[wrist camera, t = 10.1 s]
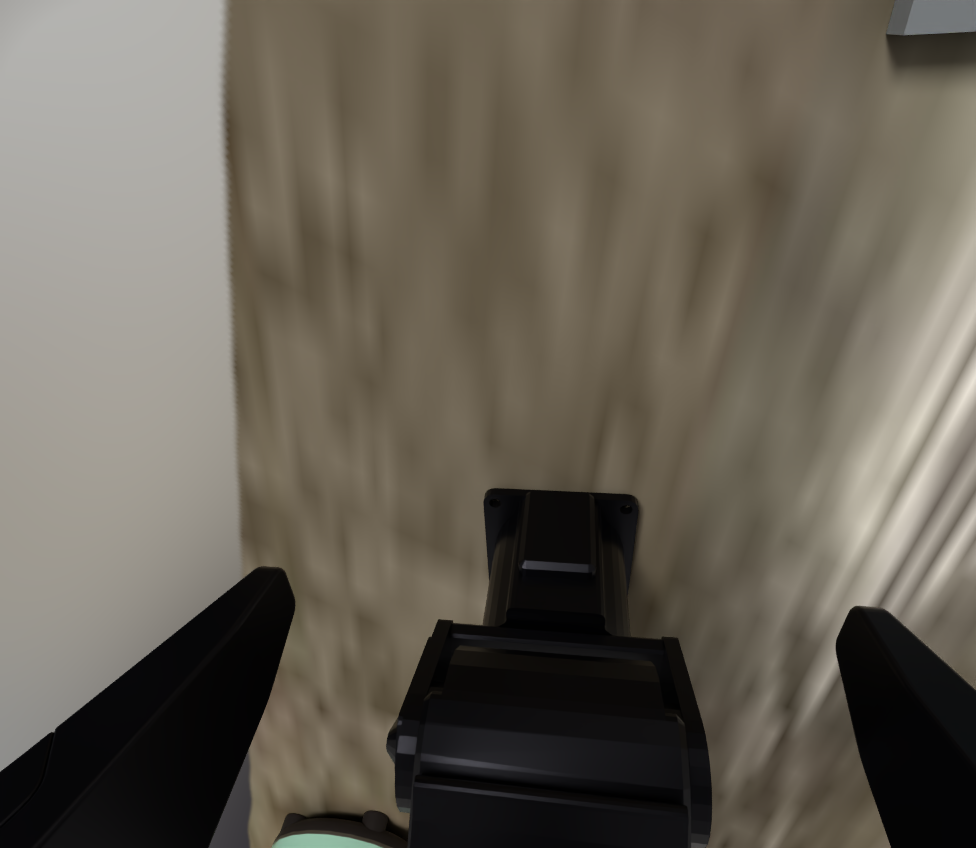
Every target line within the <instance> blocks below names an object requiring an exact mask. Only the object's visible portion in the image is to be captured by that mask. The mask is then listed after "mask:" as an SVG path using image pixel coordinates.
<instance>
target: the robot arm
mask: <svg viewBox="0 0 976 848" xmlns="http://www.w3.org/2000/svg"><path fill="white" fill-rule="evenodd" d="M492 499H498V500H499V501H497V502H496V501H493V500H492ZM624 505H628V506H630V507H627V508H624V507H622V506H624ZM484 516H485V529H486V543H487V557H488V570H489V588H488V594H487V600H486V607H485V613H484V619H483V625H472V624H459V623H453V620H440V619H438V622H437V624H436V627H435V629H434V632H433V634H432V637H429V638H428V640H427V643H426V646H425V648H424V651H423V653H422V656H421V658H420V661H419V664H418V666H417V669H416V671H415V674H414V677H413V679H412V682H411V684H410V687H409V689H408V692H407V695H406V697H405V700H404V702H403V705H402V707H401V710H400V713H399V716H398V718H397V720H396V721H395V723H394V725H393V726H392V728H391V729H390V731H389V734H388V737H387V744H386V749H387V752H388V754H389V756H390V757H391V759H392V760H393V762H394V764H395V797H396V803H397V807H398V809H399V811H400V812H406V813H410V820H409V833H408V847H407V848H706V846H707V845H708V841H709V837H710V831H711V821H712V786H711V772H710V762H709V754H708V747H707V741H706V735H705V731H704V727H703V723H702V719H701V715H700V712H699V709H698V705H697V702H696V698H695V695H694V691H693V688H692V685H691V681H690V678H689V674H688V671H687V667H686V664H685V661H684V657H683V654H682V650H681V647H680V643H679V640H678V638H673V637H662V638H661V639H652V638H639V637H630V625H629V612H628V600H627V597H628V589H629V581H630V573H631V565H632V557H633V550H634V542H635V534H636V526H637V518H638V502H637V499H636V498H635V497H633V496H632V495H628V494H610V493H588V492H566V491H544V490H522V489H500V488H494V489H490V490H488V491H487V492H486V493H485V498H484ZM294 612H295V597H294V594H293V592H292V589H291V586H290V583H289V581H288V578H287V575H286V573H285V571H284V570H283V569H282V568H279V567H266V566H262V567H258V568H256V569H255V570H253V571H252V572H251V573H249V574H248V575H247V576H246V577H244V578H243V579H242V580H241V581H239V582H238V583H237V584H236V585H234V586H233V587H232V588H231V589H230V590H228V591H227V592H226V593H224V594H223V595H222V596H221V597H219V598H218V599H217V600H216V601H214V602H213V603H212V604H211V605H209V606H208V607H207V608H206V609H205V610H203V611H202V612H201V613H199V614H198V615H197V616H196V617H194V618H193V619H192V620H191V621H189V622H188V623H187V624H186V625H184V626H183V627H182V628H181V629H179V630H178V631H177V632H176V633H174V634H173V635H172V636H171V637H169V638H168V639H167V640H166V641H164V642H163V643H162V644H161V645H159V646H158V647H157V648H156V649H154V650H153V651H152V652H151V653H149V654H148V655H147V656H146V657H144V658H143V659H142V660H141V661H139V662H138V663H137V664H136V665H134V666H133V667H132V668H131V669H130V670H128V671H127V672H125V673H124V674H123V675H122V676H120V677H119V678H118V679H117V680H115V681H114V682H113V683H112V684H110V685H109V686H108V687H107V688H105V689H104V690H103V691H102V692H100V693H99V694H98V695H97V696H96V697H94V698H93V699H92V700H90V701H89V702H88V703H87V704H85V705H84V706H83V707H82V708H81V709H79V710H78V711H77V712H75V713H74V714H73V715H72V716H70V717H69V718H68V719H67V720H65V721H64V722H63V723H62V724H60V725H59V726H58V727H57V728H56V729H55V732H51V733H49V734H48V735H47V736H45V737H44V738H43V739H41V740H40V741H39V742H38V743H36V744H35V745H34V746H33V747H31V748H30V749H29V750H28V751H26V752H25V753H24V754H23V755H21V756H20V757H19V758H17V759H16V760H15V761H14V762H12V763H11V764H10V765H9V766H7V767H6V768H4V769H3V770H2V771H1V772H0V848H208V847H209V845H210V843H211V840H212V837H213V835H214V833H215V830H216V828H217V825H218V823H219V821H220V818H221V815H222V813H223V811H224V808H225V806H226V803H227V801H228V798H229V796H230V794H231V791H232V788H233V786H234V784H235V781H236V779H237V776H238V774H239V771H240V769H241V767H242V764H243V762H244V759H245V757H246V754H247V752H248V749H249V747H250V745H251V742H252V740H253V737H254V735H255V732H256V730H257V727H258V725H259V722H260V720H261V718H262V715H263V713H264V710H265V707H266V705H267V702H268V699H269V697H270V693H271V690H272V687H273V684H274V681H275V677H276V674H277V670H278V667H279V663H280V660H281V657H282V653H283V650H284V646H285V643H286V639H287V636H288V633H289V629H290V626H291V622H292V619H293V615H294ZM836 655H837V659H838V664H839V668H840V673H841V677H842V681H843V686H844V690H845V694H846V699H847V703H848V708H849V712H850V716H851V721H852V725H853V729H854V734H855V738H856V742H857V746H858V750H859V754H860V758H861V761H862V764H863V767H864V770H865V773H866V776H867V779H868V782H869V785H870V788H871V791H872V794H873V797H874V799H875V802H876V805H877V808H878V811H879V814H880V817H881V820H882V823H883V825H884V828H885V831H886V834H887V837H888V840H889V843H890V846H891V848H976V690H975V689H974V688H973V687H972V686H971V685H970V684H968V683H967V682H966V681H965V680H964V679H963V678H962V677H961V676H960V675H958V674H957V673H956V672H955V671H954V670H953V669H952V668H951V667H950V666H948V665H947V664H946V663H945V662H944V661H943V660H942V659H941V658H940V657H938V656H937V655H936V654H935V653H934V652H933V651H932V650H931V649H930V648H928V647H927V646H926V645H925V644H924V643H923V642H922V641H921V640H920V639H918V638H917V637H916V636H915V635H914V634H913V633H912V632H911V631H910V630H908V629H907V628H906V627H905V626H904V625H903V624H902V623H901V622H900V621H898V620H897V619H896V618H895V617H894V616H893V615H892V614H891V613H889V612H888V611H886V610H885V609H883V608H879V607H866V606H855V607H853V608H852V609H851V610H850V611H849V613H848V615H847V617H846V619H845V622H844V624H843V626H842V628H841V630H840V632H839V635H838V637H837V640H836Z"/></svg>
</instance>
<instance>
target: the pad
mask: <svg viewBox="0 0 976 848" xmlns="http://www.w3.org/2000/svg"><path fill="white" fill-rule="evenodd" d="M974 31H976V0H895V4H894V7H893V11H892V15H891V18H890V22H889V25H888V29H887V33H886V34H891V35H917V34H936V33H955V32H974Z"/></svg>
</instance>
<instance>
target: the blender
mask: <svg viewBox="0 0 976 848" xmlns="http://www.w3.org/2000/svg"><path fill="white" fill-rule="evenodd" d="M387 821H388V818H387V816H386V815H384V814H383V813H380V812H377V811H367V812H365V813H364V816H363V820H362V823H360V822H356V821H350V820H343V819H337V818H313V819H307V818H306V817H304V816H302V815H299V814H288V815H287V816H286V818H285V820H284V823H283V826H282V829H281V831H280V833H279V835H278V836H277V838H276V839H275V841H274V843H273V846H272V848H407V847H408V842H407V841H406V840H404V839H402V838H400V837H398V836H396V835H395V834H393V833H390V832H388V831H385V830H386V825H387Z"/></svg>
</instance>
